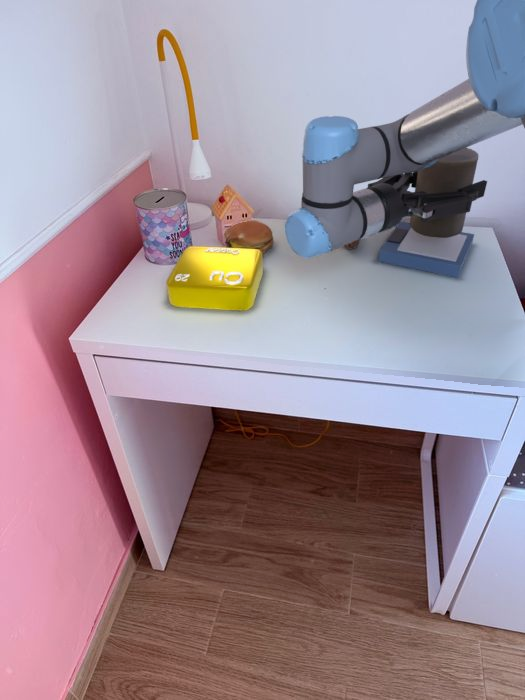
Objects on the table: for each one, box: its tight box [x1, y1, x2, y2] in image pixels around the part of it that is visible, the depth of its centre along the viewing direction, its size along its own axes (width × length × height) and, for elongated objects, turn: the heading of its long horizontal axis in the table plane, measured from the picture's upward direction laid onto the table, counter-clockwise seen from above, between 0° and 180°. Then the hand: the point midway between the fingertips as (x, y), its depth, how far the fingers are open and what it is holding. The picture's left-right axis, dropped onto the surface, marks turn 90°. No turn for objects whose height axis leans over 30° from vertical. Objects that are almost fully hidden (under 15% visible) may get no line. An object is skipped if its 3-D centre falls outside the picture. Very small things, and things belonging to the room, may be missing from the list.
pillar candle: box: [409, 147, 480, 238], centre depth 93 cm, size 10×10×15 cm
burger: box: [223, 220, 275, 255], centre depth 105 cm, size 10×9×5 cm
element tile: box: [165, 245, 264, 312], centre depth 93 cm, size 15×15×5 cm
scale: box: [377, 221, 475, 279], centre depth 102 cm, size 15×14×3 cm
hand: (459, 179), depth 95 cm, fingers closed on pillar candle, 10 cm apart
